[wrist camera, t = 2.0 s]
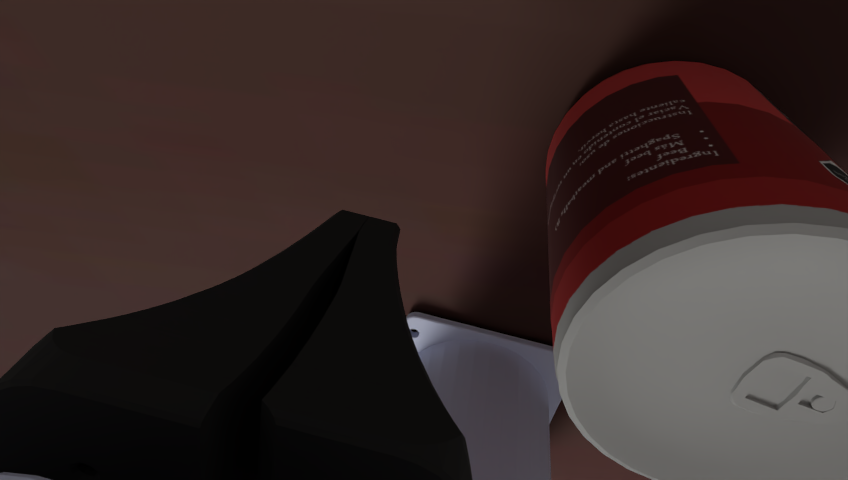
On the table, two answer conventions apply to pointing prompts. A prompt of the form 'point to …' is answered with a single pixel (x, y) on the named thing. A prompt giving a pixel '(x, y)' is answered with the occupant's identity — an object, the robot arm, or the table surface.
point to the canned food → (699, 279)
